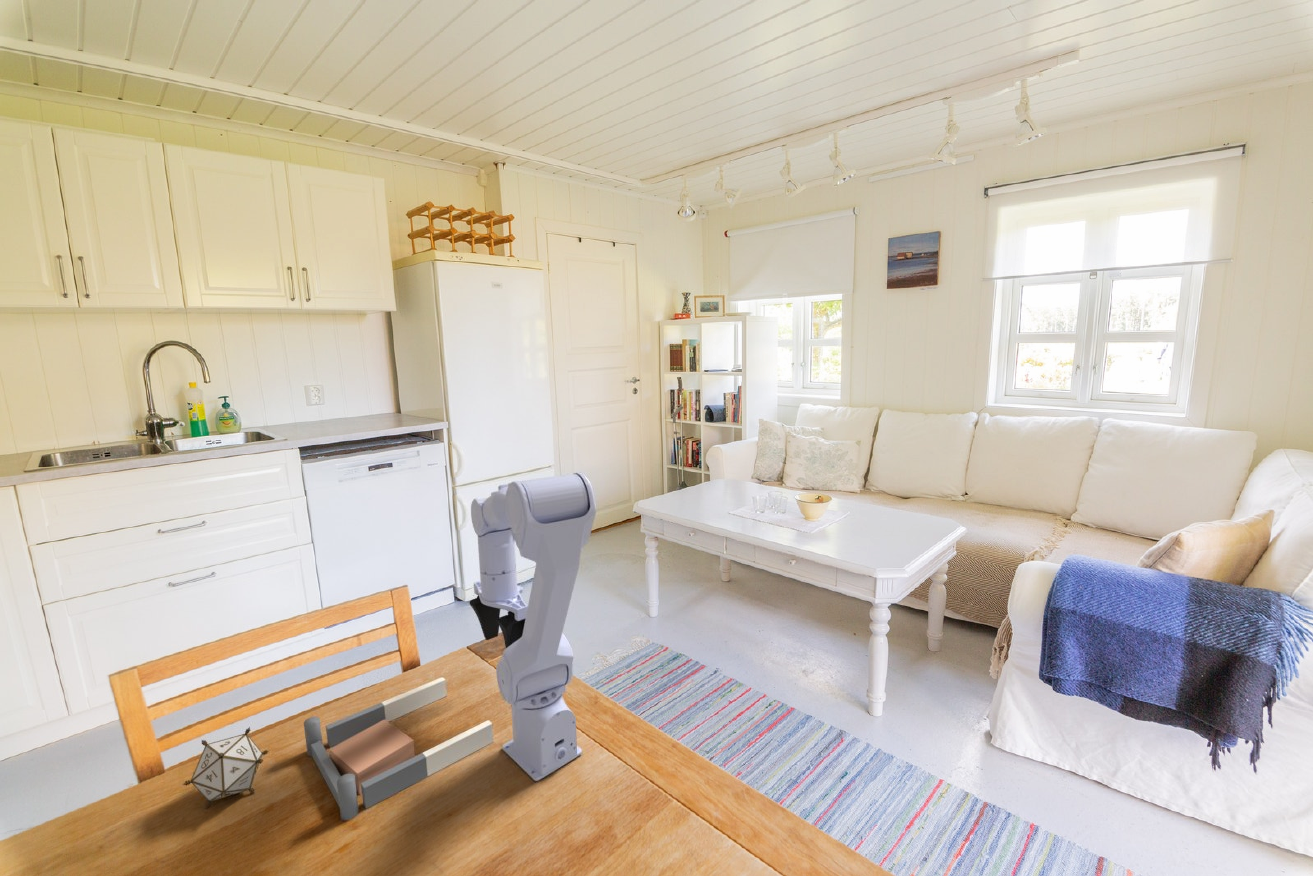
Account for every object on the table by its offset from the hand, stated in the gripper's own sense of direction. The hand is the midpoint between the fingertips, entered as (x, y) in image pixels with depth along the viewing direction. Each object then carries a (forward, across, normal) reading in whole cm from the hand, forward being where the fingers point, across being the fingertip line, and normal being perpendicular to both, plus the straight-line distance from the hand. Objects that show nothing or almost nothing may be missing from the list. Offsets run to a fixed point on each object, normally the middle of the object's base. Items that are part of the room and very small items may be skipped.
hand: (502, 645), depth 96 cm
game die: (+10, +7, +37) cm, 39 cm away
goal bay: (+9, 0, +22) cm, 24 cm away
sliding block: (+10, -1, +22) cm, 24 cm away
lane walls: (+9, 0, +12) cm, 15 cm away
